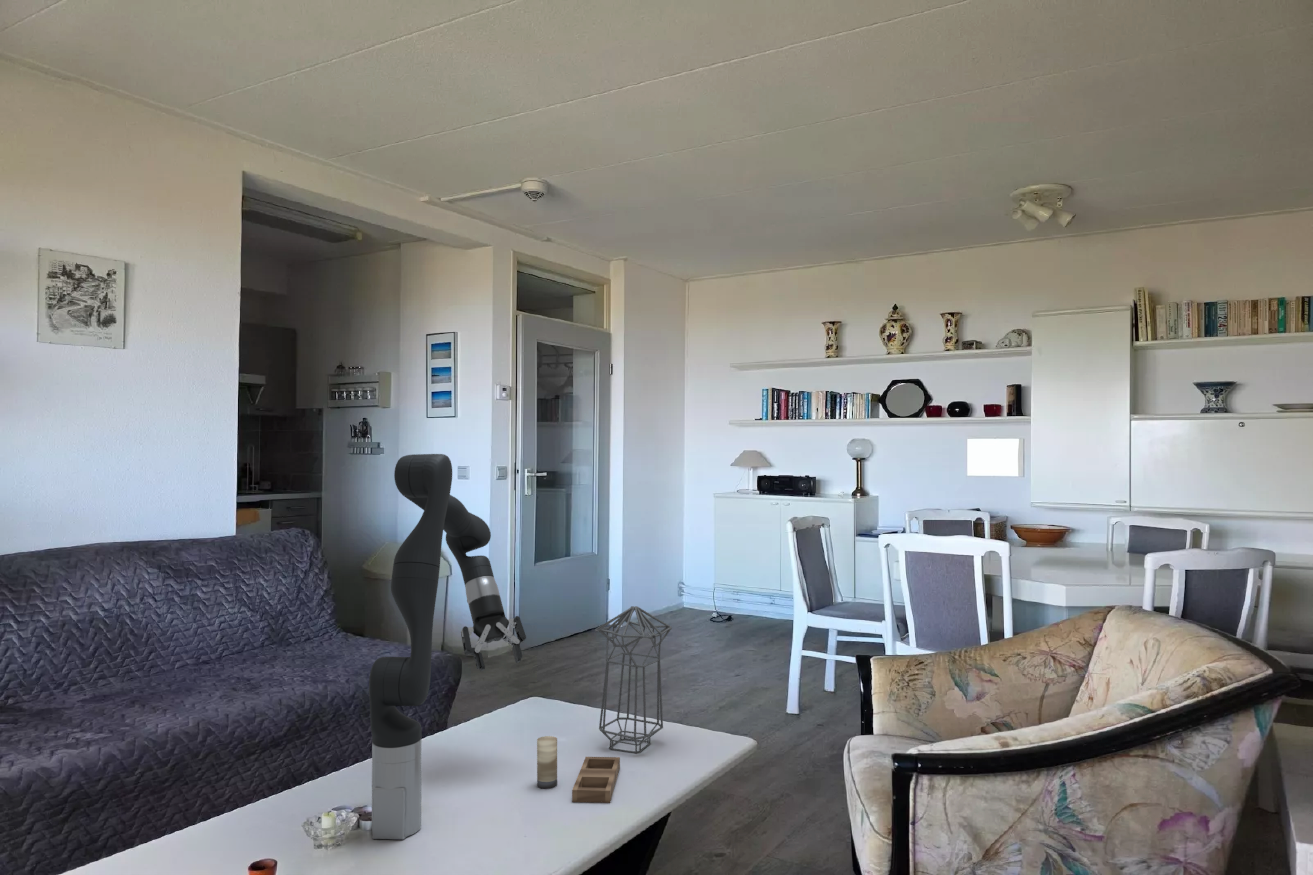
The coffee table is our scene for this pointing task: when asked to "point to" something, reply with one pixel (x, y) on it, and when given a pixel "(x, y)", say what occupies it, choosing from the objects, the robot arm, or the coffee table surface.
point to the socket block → (596, 780)
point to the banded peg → (547, 762)
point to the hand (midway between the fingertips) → (500, 665)
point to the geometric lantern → (642, 623)
